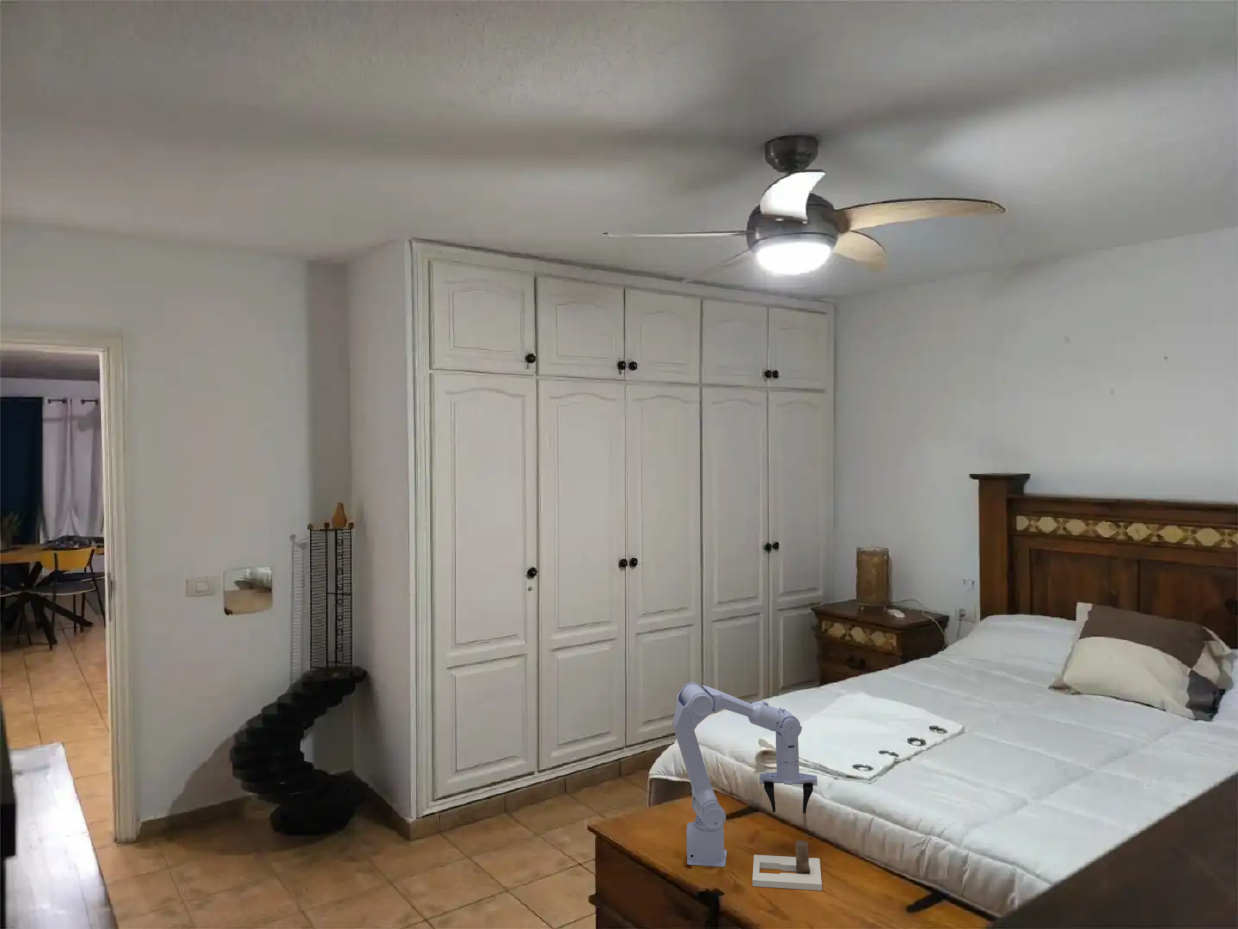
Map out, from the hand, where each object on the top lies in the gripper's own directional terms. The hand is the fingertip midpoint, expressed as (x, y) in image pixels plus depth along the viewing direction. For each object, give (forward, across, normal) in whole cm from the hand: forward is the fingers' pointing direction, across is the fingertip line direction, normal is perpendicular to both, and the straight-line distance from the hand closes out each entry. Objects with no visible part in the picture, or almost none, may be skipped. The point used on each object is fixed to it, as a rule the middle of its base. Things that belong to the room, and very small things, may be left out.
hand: (789, 811), depth 215 cm
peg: (+9, +3, -14) cm, 17 cm away
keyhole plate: (+9, -1, -14) cm, 17 cm away
